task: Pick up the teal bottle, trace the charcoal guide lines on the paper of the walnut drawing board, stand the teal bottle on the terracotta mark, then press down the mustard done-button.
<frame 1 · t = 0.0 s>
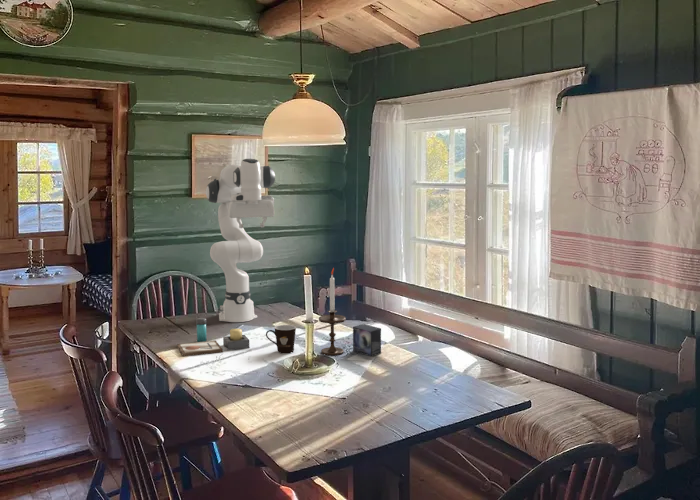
hand: (251, 227, 297), 48 cm above the table, tool pointing down, fingers open, 8 cm apart
small box: (366, 352, 274), on the table
drawing board: (199, 349, 278), on the table
button housing: (236, 346, 283), on the table
coffee mug: (282, 351, 276), on the table
button cap: (236, 334, 282), point 5 cm above the table, slide at 0.0 cm
candlestick: (332, 352, 274), on the table
teal bottle: (201, 341, 290), on the table
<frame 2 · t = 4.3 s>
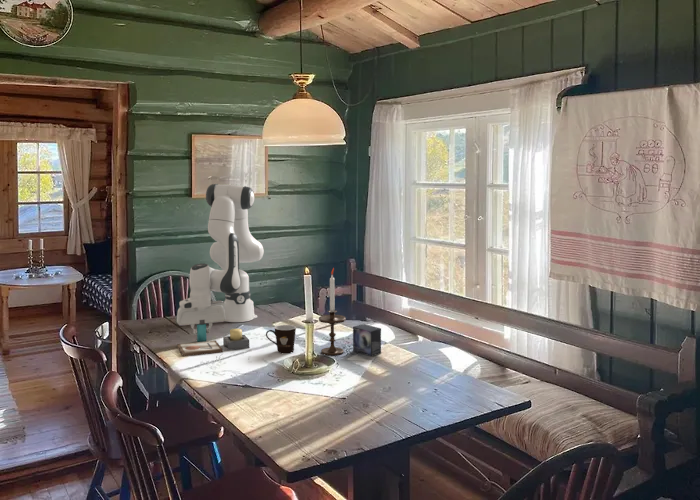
hand: (201, 333, 290), 4 cm above the table, tool pointing down, fingers closed on teal bottle, 4 cm apart
teal bottle: (201, 341, 290), on the table, touching gripper
everything else where it was.
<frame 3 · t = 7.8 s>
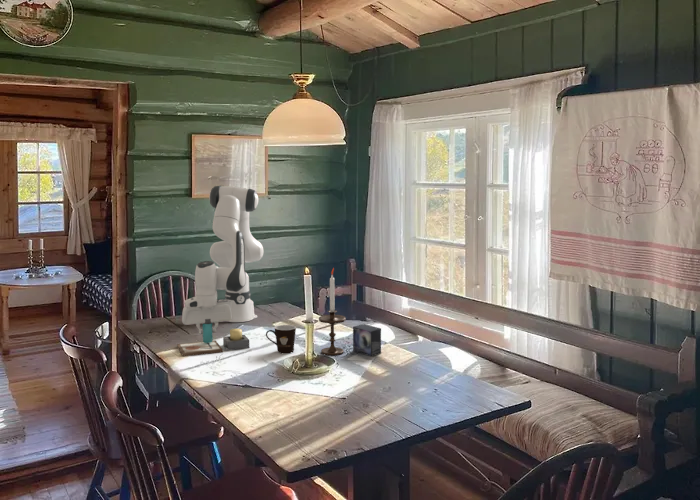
hand: (207, 333, 282), 6 cm above the table, tool pointing down, fingers closed on teal bottle, 4 cm apart
teal bottle: (207, 341, 283), point 2 cm above the table, touching gripper
everything else where it was.
when the fingers open (6 cm above the table, at t = 11.3 s): teal bottle stays where it is, resting on drawing board.
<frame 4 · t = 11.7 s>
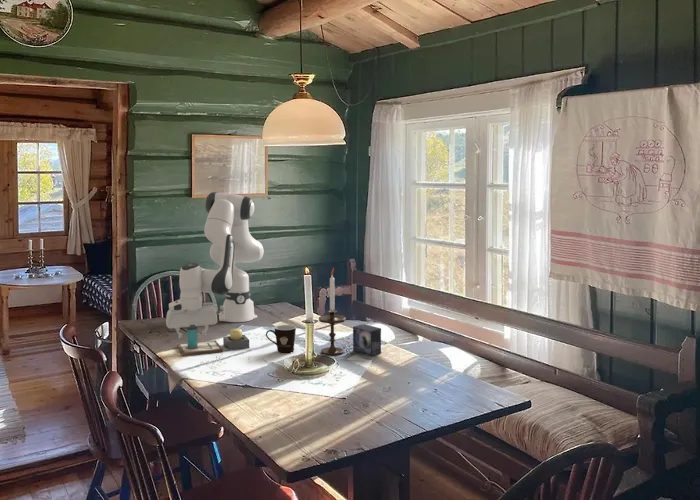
hand: (192, 336, 275), 6 cm above the table, tool pointing down, fingers open, 8 cm apart
teal bottle: (192, 347, 276), point 1 cm above the table, touching drawing board
everything else where it was.
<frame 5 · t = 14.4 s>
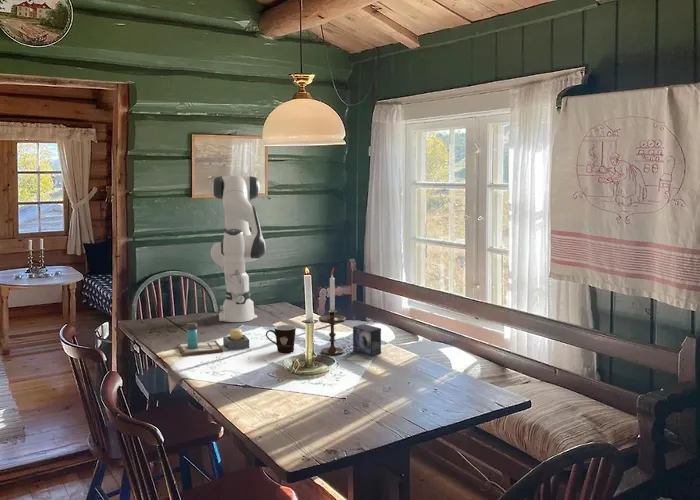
hand: (235, 301, 280), 19 cm above the table, tool pointing down, fingers closed
nothing on the table moved.
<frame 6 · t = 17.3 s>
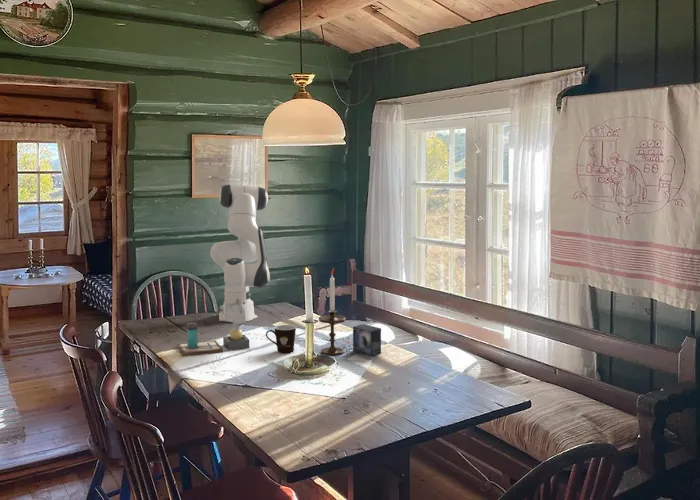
hand: (236, 330, 282), 7 cm above the table, tool pointing down, fingers closed, pressing on button cap
button cap: (236, 334, 282), point 5 cm above the table, slide at 0.1 cm, touching gripper
everything else where it was.
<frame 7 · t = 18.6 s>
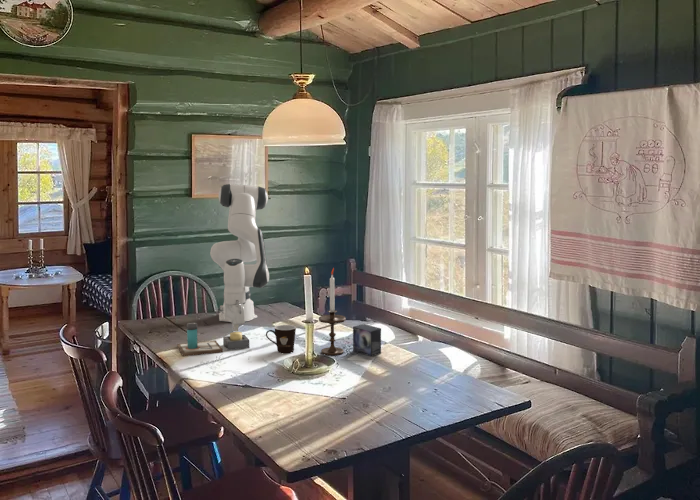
hand: (235, 330, 283), 7 cm above the table, tool pointing down, fingers closed
button cap: (236, 337, 282), point 4 cm above the table, slide at 1.4 cm
everything else where it was.
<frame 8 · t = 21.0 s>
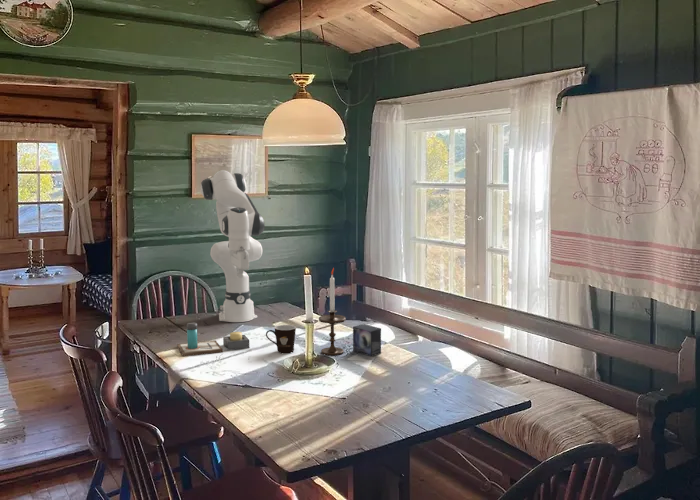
hand: (240, 277, 292), 27 cm above the table, tool pointing down, fingers closed
nothing on the table moved.
at the end: teal bottle 0.1 cm from the target spot on the drawing board, point 1.4 cm above the drawing board's base; teal bottle tilted 0°; button cap slide at 1.4 cm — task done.
